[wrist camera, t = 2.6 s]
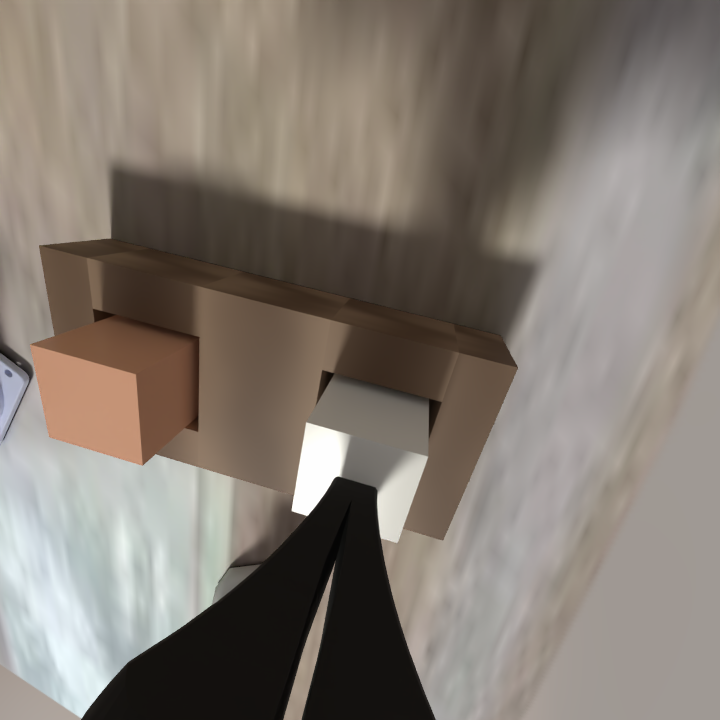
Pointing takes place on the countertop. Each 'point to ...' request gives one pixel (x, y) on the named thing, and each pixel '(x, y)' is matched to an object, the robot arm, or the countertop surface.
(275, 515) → the countertop surface
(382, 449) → the white cube
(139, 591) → the countertop surface
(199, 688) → the robot arm
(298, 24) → the countertop surface
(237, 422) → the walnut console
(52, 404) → the salmon pink cube
